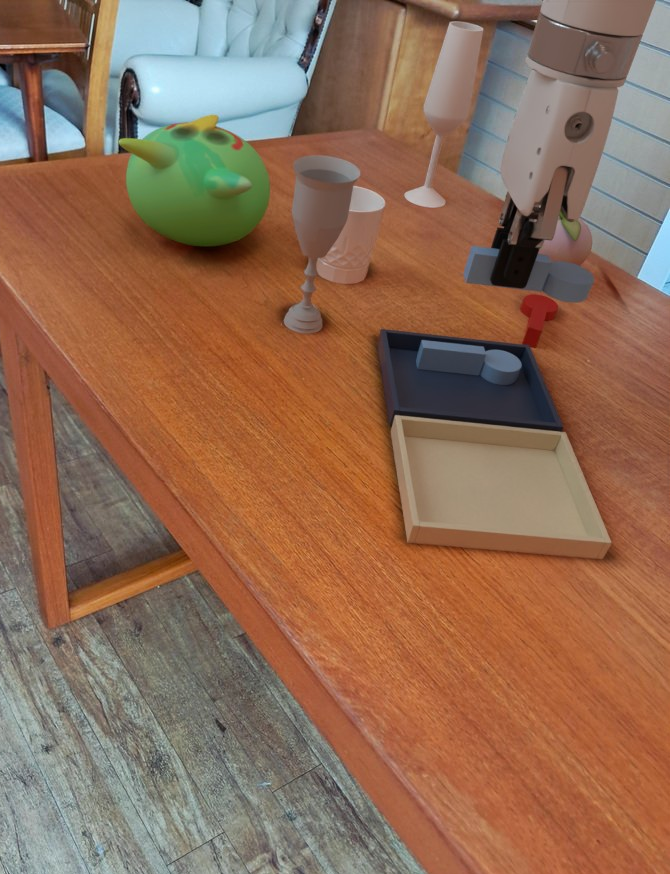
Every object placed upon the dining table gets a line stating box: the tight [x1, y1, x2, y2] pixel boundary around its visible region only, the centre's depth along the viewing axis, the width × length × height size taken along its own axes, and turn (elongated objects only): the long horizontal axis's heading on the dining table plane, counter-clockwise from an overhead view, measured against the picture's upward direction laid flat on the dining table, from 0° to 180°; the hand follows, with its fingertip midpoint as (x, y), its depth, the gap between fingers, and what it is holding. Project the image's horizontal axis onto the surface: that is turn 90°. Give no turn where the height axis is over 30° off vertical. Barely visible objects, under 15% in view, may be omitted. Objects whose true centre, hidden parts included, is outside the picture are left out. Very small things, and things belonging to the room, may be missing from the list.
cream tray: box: [390, 415, 613, 560], centre depth 72 cm, size 17×15×2 cm
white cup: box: [316, 185, 387, 285], centre depth 98 cm, size 8×8×10 cm
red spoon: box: [519, 293, 559, 349], centre depth 97 cm, size 11×4×3 cm, turn 160°
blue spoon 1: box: [416, 340, 522, 385], centre depth 87 cm, size 11×4×3 cm, turn 90°
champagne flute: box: [403, 20, 484, 209], centre depth 116 cm, size 7×7×24 cm
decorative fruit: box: [534, 211, 593, 267], centre depth 105 cm, size 9×8×10 cm
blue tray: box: [376, 328, 564, 432], centre depth 84 cm, size 17×15×2 cm
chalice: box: [280, 154, 361, 334], centre depth 85 cm, size 7×7×18 cm
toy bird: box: [117, 114, 271, 248], centre depth 99 cm, size 18×17×15 cm
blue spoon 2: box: [462, 245, 595, 304], centre depth 70 cm, size 11×4×3 cm, turn 91°
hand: (504, 277), depth 71 cm, fingers closed on blue spoon 2, 1 cm apart
